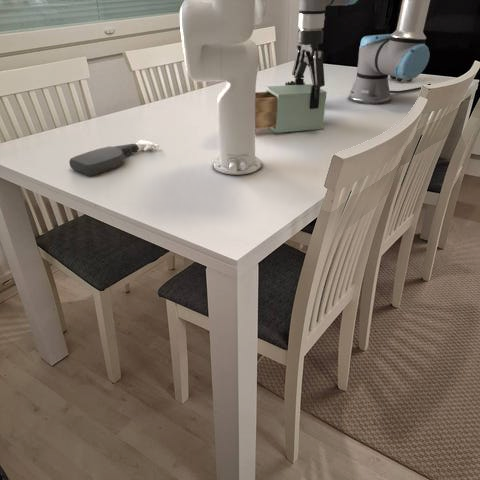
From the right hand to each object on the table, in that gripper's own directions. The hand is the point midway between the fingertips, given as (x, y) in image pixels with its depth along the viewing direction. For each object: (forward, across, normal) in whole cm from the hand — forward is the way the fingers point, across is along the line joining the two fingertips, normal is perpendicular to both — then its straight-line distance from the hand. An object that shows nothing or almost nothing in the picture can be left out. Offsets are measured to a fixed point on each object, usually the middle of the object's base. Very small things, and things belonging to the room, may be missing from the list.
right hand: (305, 103), depth 144 cm
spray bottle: (+8, -9, +62) cm, 63 cm away
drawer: (+5, 0, +17) cm, 18 cm away
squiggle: (+6, +43, -68) cm, 81 cm away
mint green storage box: (+7, 0, +4) cm, 8 cm away
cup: (+7, +24, -7) cm, 26 cm away
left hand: (-1, -1, +24) cm, 24 cm away
